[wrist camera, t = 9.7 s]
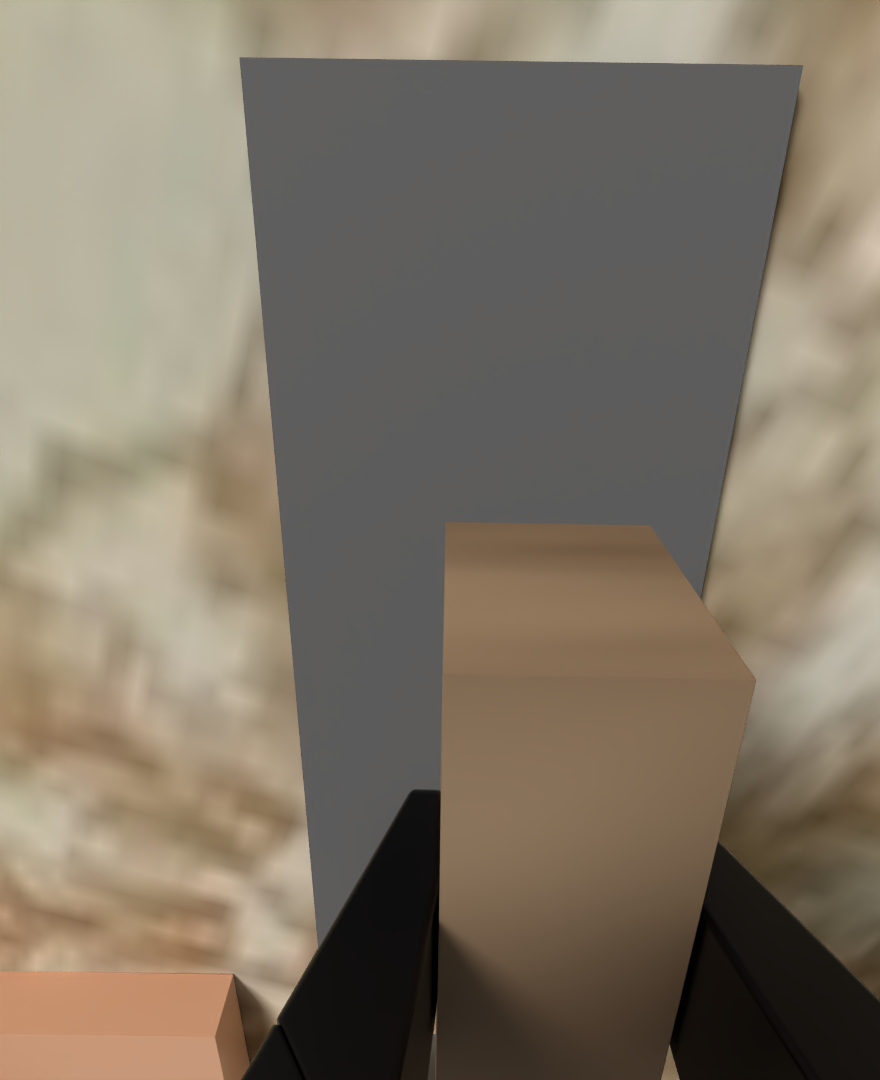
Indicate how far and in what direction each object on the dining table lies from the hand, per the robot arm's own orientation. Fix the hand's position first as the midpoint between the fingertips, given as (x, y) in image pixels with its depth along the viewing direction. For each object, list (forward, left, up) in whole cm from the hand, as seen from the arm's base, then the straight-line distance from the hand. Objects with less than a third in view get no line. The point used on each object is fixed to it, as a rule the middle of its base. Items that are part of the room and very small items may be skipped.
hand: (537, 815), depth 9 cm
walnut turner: (-3, 0, -1) cm, 4 cm away
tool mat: (-3, 0, -9) cm, 9 cm away
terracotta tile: (-16, +12, -8) cm, 22 cm away
